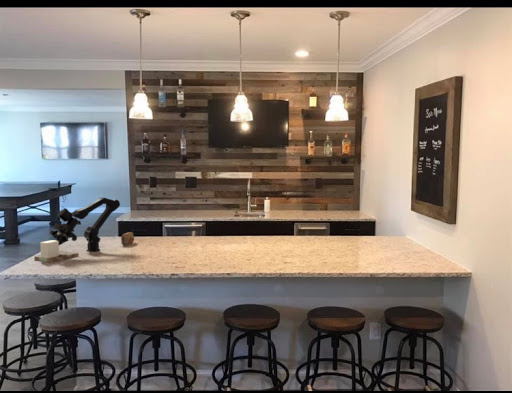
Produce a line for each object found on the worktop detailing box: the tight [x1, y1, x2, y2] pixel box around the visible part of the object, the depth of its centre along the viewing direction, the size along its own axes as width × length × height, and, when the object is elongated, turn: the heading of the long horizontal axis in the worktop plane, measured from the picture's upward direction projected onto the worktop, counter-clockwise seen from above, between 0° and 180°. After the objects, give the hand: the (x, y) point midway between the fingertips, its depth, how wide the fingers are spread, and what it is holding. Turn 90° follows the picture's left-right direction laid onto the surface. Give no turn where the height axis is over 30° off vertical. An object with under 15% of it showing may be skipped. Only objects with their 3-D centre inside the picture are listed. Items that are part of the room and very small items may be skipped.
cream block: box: [39, 239, 60, 258], centre depth 264 cm, size 8×6×9 cm
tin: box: [120, 231, 135, 247], centre depth 311 cm, size 15×3×8 cm, turn 168°
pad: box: [38, 256, 56, 263], centre depth 263 cm, size 6×7×2 cm
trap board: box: [33, 250, 79, 263], centre depth 269 cm, size 20×15×2 cm
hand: (55, 246), depth 267 cm, fingers closed, pressing on cream block
